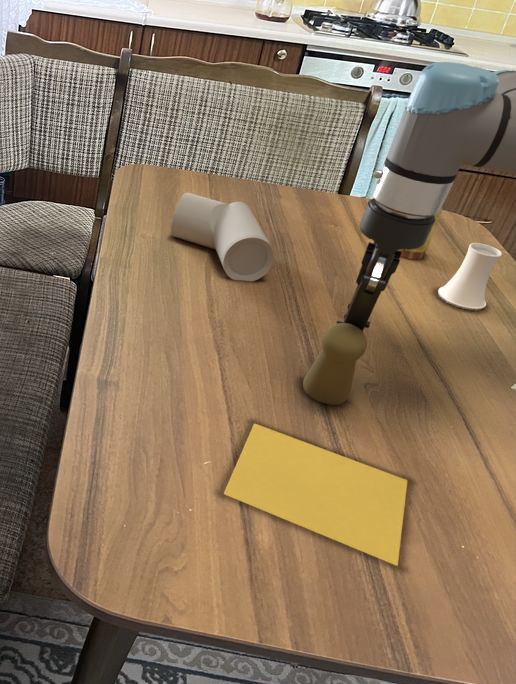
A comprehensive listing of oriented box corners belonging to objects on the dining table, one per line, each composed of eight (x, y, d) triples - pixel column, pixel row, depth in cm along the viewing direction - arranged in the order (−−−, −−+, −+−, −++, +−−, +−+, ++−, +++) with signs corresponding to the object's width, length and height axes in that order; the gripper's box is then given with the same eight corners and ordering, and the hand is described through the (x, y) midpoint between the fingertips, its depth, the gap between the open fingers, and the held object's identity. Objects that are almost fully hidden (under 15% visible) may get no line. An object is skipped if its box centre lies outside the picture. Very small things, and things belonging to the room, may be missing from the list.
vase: (437, 286, 122) (461, 235, 116) (484, 299, 119) (511, 248, 113) (434, 303, 116) (459, 250, 111) (482, 318, 114) (511, 264, 108)
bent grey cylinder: (290, 248, 126) (189, 218, 134) (303, 199, 119) (196, 170, 127) (257, 304, 116) (150, 267, 124) (270, 254, 109) (155, 219, 116)
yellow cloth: (406, 482, 79) (407, 480, 79) (396, 568, 68) (397, 565, 68) (253, 425, 85) (254, 423, 85) (222, 496, 74) (223, 493, 74)
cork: (316, 410, 89) (337, 358, 81) (294, 375, 93) (312, 322, 85) (359, 399, 90) (384, 345, 81) (335, 364, 94) (356, 310, 85)
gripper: (376, 181, 85) (316, 335, 99) (362, 215, 76) (297, 381, 90) (440, 197, 83) (369, 353, 97) (434, 235, 73) (356, 402, 87)
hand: (334, 366), depth 93 cm, fingers closed
